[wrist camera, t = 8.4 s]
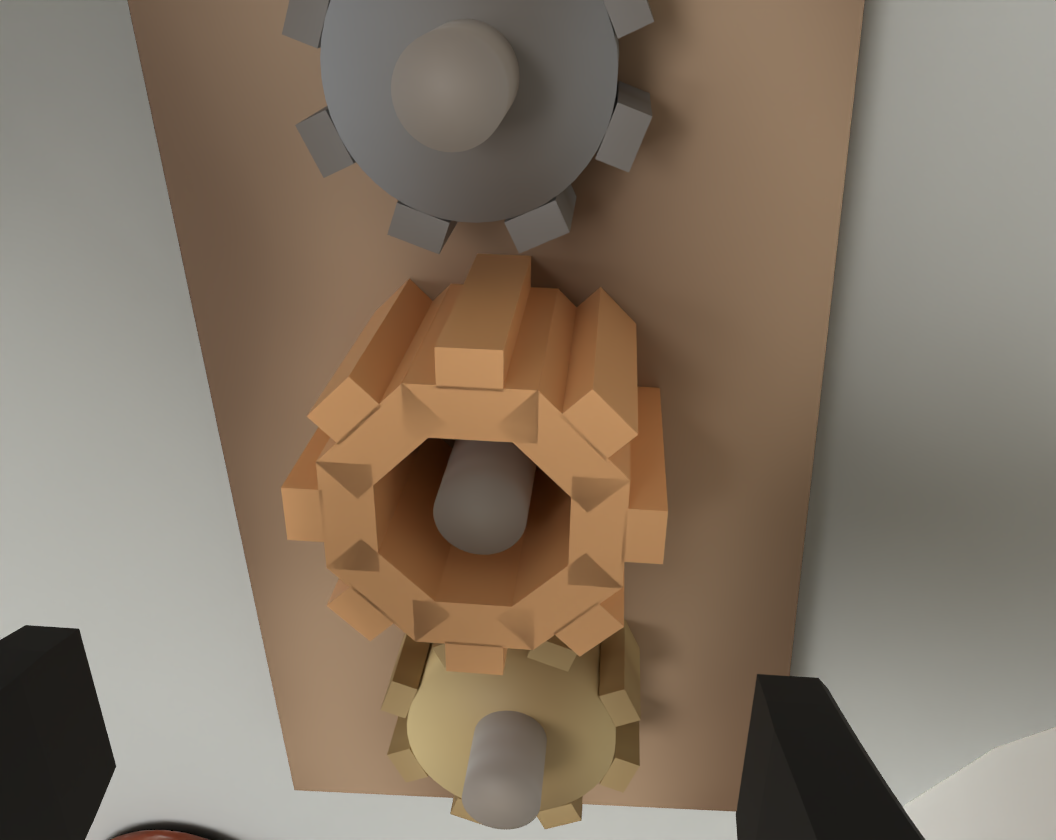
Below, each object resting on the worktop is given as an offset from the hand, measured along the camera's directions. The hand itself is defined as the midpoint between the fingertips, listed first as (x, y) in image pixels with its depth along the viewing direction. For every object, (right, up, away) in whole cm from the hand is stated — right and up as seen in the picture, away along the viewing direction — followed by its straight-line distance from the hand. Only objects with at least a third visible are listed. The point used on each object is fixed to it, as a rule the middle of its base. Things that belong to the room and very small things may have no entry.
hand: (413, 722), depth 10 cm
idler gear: (+1, +4, +7) cm, 8 cm away
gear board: (+1, +4, +8) cm, 9 cm away
